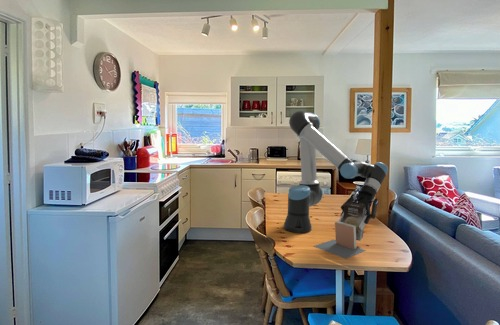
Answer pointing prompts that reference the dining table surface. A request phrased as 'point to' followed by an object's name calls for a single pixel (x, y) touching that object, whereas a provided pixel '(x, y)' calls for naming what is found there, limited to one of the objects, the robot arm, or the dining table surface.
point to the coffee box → (354, 217)
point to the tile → (345, 234)
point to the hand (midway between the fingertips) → (350, 225)
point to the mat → (338, 249)
